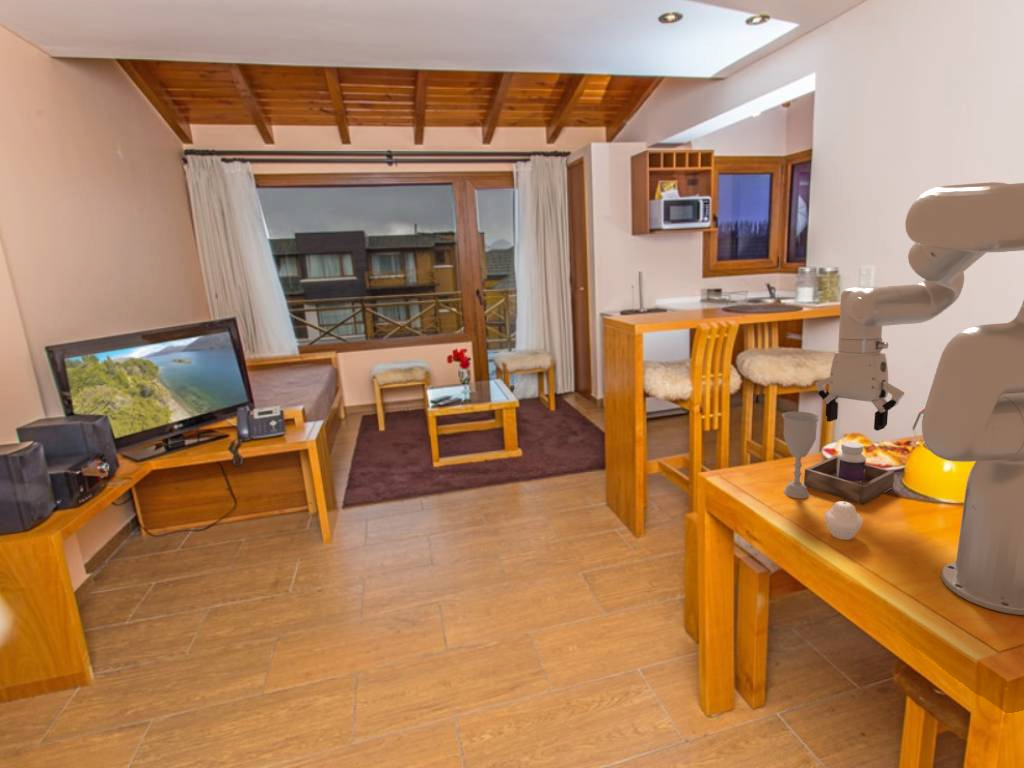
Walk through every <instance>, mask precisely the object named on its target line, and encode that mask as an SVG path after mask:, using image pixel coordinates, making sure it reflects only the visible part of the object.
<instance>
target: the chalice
mask: <svg viewBox="0 0 1024 768" xmlns="http://www.w3.org/2000/svg"><path fill="white" fill-rule="evenodd" d="M781 416H782V418H783V439H784V441H785V444H786V447H787V449H788V451H789V454H790V455H791V456H793V457H795V462H794V463H793V466H794V468H795V469H794V470H793V472H792V474H793V475H794V479H793V480H792V481H790V482H788V483H787V485H786V486H785V489H784V490H783V493H784V495H785V496H788V497H790V498H793V499H794V498H795V499H807V498H809V497H810V493H809V491H808V489H807V487H806V486H805V485H804V482H802V481H801V480H800V477H801V475H802V474H803V473H802V471H801V468H802V467H803V465H802V462H801V459H802V458H805V457H806V456H807V455H808V454H809V452H810V451H811V450H812V448H813V446H814V444H815V442H816V440H817V429H818V428H817V426H818V422H819V420H820V419H821V417H820V416H819V415H817V414H815V413H812V412H806V411H787V412H783V413H782V414H781Z"/></svg>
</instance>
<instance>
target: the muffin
mask: <svg viewBox="0 0 1024 768" xmlns="http://www.w3.org/2000/svg"><path fill="white" fill-rule="evenodd" d="M823 517H824V521H825V524H826V525H827V527H828V529H829V532H830V534H831V535H832V536H833V537H834V538H835V539H838V540H843V541H849V540H852V539H853V538H854V537H855V535H856V534H857V533H858V532H859V531H860V530H861V527H862V525H863V523H864V521H863V517H862V516H861V515H860V514H859V513H858V512H857V511H856V507H855V506H854V505H853V503H850V501H849V502H848V501H843V500H842V501H836V502H834V504H833V506H832V507H831V508H830V509H828V510H827V511H826V512H825V514H824V516H823Z"/></svg>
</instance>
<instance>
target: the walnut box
mask: <svg viewBox="0 0 1024 768" xmlns="http://www.w3.org/2000/svg"><path fill="white" fill-rule="evenodd" d="M836 464H837V455H834V456H831V457H829V458H826V459H825V460H822V461H820V462H818V463H816V464H814V465H811V466H809V467H807V468H805V469H804V477H803V478H804V479H803V484H804V485H805V486H806V488H809V489H813V490H815V491H818V492H821V493H824V494H827V495H830V496H833V497H836V498H839V499H842V500H846V501H847V502H848V501H849V502H853V503H854V504H858V505H861V506H865V505H866V504H869V503H870V502H872V501H874V500H876V499H877V498H878V497H881V496H882V494H883V495H885V493H884V492H885V491H887V490H888V489H890V488H892V487H893V488H894V481H895V473H896V472H895V471H894V470H891V469H888V468H883V467H881V466H876V465H872V464H867V463H865V476H864V484H863V485H861V484H858V483H854V482H851V481H848V480H844V479H841V478H837V477H836Z"/></svg>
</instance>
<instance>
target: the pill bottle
mask: <svg viewBox="0 0 1024 768" xmlns="http://www.w3.org/2000/svg"><path fill="white" fill-rule="evenodd" d="M840 447H841V451H839V452H838V453H837V455H836V456H837V464H836V477H837V478H841V479H844V480H848V481H851V482H854V483H858V484H861V485H863V484H864V476H865V464H867V463H866V462H867V458H866V456H865V454H864V453H863V451H864V445H863V443H859V442H856V441H843V442H842V443H841V446H840Z"/></svg>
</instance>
